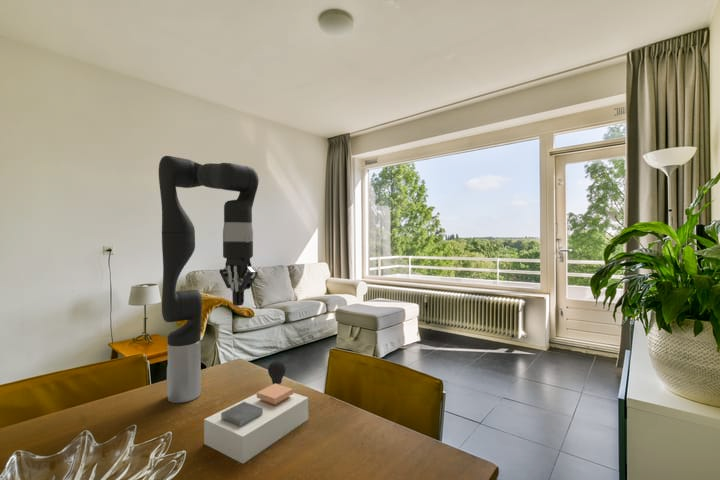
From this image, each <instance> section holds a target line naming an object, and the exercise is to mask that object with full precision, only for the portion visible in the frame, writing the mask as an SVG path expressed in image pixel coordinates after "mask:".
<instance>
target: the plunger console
mask: <svg viewBox="0 0 720 480" xmlns="http://www.w3.org/2000/svg"><path fill="white" fill-rule="evenodd" d="M242 402H246V403H249V404H252V405H254V406H257V407H260V408H262V409H263V414H262V415H260V416H258V417H257V418H255V419H253V420H251V421H250V422H248V423H246V424H244V425H242V426H241V427H239V426H237V425H234V424H232V423H230V422H227V421H225V420H223V419H221V413H222V412H224V411H226V410H228V409H230V408H232V407H234V406H236V405H238V404H240V403H242ZM308 420H309V397H308V396H305V395H301V394H299V393H295V392H293V394H292V395H290V396H289V397H288V400H286V401H284V402H282V403H281V404H279V405H277V406H272V405H269V404H266V403H263V402H262V399H259V398H257V393H255V394H253V395H250V396H249V397H246V398H245V399H242V400H241V401H239V402H236V403H234V404H232V405H231V406H228V407H227V408H224V409H222V410H219V411H218V412H215V413H214V414H211V415H210V416H208V417H206V418H204V419H203V431H204V432H203V437H204V438H203V439H204V440H203V443H204V444H203V445H205V446H208V447H209V448H211V449H214V450H215V451H218V452H219V453H221V454H223V455H225V456H227V457H229V458H230V459H233V460H235V461H237V462H238V463H241V464H245V463H246V462H248V461H249V460H251V459H252V458H254V457H256V456H257V455H259V453H262V452H263V451H264V450H266V449H268V448H269V447H270V446H271V445H273V444H275V443H276V442H277V441H279V440H280V439H282V438H283V437H285V436H286V435H287V434H289V433H290V432H292V431H293V430H296V429H297V427H299V426H301V425H302V424H304V423H305V422H306V421H308Z"/></svg>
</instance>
